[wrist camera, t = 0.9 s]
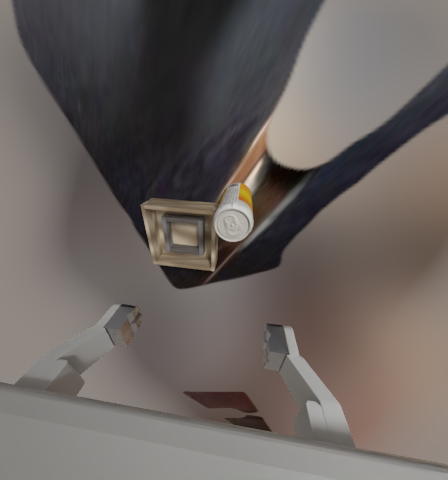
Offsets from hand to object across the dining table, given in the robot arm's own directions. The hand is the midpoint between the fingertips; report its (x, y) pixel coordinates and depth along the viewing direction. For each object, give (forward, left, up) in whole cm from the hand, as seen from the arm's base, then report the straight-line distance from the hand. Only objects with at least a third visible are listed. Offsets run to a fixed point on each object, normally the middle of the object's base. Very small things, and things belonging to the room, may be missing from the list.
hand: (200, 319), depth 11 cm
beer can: (+1, +1, -31) cm, 31 cm away
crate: (+11, -11, -31) cm, 34 cm away
